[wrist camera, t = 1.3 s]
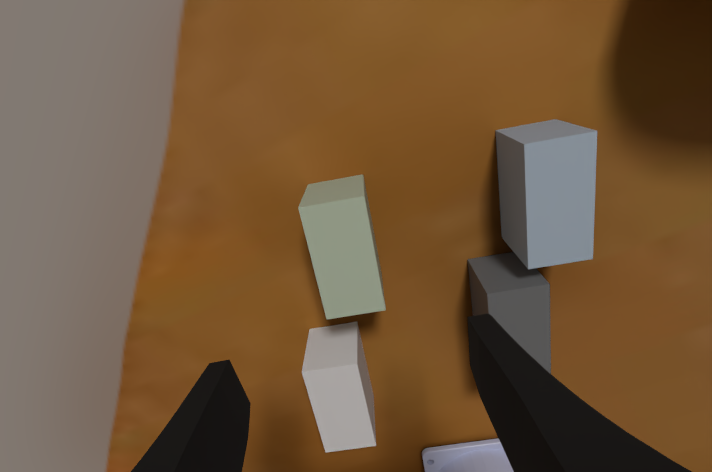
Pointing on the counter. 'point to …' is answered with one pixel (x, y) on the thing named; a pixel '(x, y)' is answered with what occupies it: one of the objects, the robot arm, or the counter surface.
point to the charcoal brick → (514, 301)
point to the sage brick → (343, 246)
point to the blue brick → (547, 191)
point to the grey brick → (340, 387)
